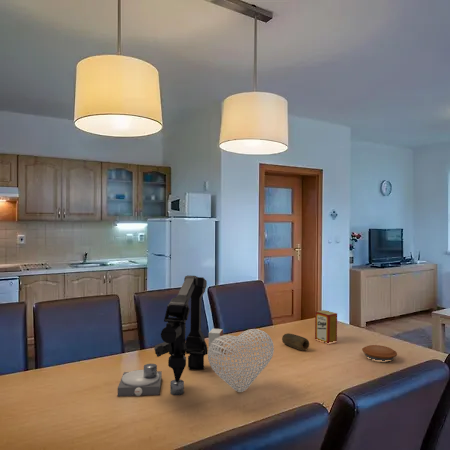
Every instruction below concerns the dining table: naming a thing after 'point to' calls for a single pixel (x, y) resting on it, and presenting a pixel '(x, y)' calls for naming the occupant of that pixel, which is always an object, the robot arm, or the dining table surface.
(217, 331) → the small box
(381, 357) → the pie
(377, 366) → the dining table surface
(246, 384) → the heart
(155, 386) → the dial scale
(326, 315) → the baking soda box
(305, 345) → the stone weight
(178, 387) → the cylinder
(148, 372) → the cylinder
